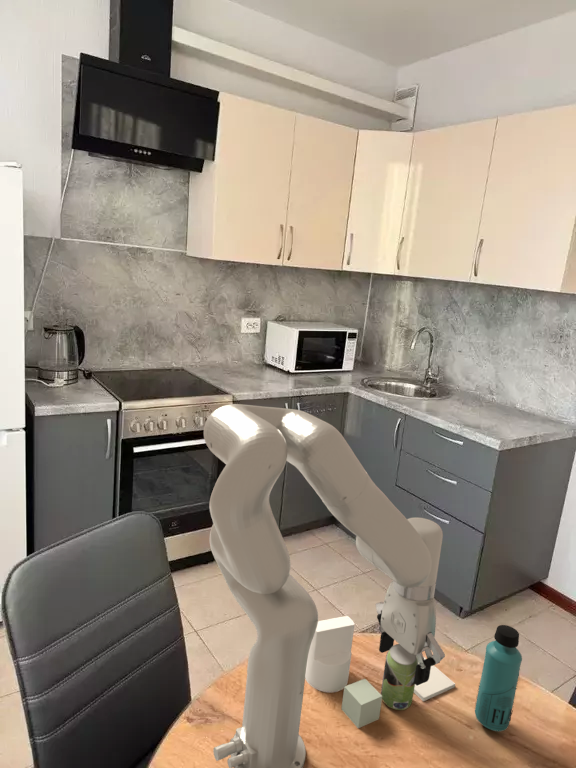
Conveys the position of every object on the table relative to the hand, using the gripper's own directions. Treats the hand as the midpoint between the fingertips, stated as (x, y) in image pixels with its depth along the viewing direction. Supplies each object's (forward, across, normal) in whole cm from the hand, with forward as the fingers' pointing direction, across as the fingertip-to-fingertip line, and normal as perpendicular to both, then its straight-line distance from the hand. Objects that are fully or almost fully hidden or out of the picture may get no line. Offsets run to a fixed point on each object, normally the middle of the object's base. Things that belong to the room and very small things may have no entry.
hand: (402, 665), depth 106 cm
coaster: (+8, -2, +9) cm, 13 cm away
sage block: (+8, -1, -9) cm, 12 cm away
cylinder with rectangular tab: (+8, -12, -9) cm, 17 cm away
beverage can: (+8, 0, -1) cm, 9 cm away
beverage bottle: (+9, +12, +12) cm, 19 cm away
